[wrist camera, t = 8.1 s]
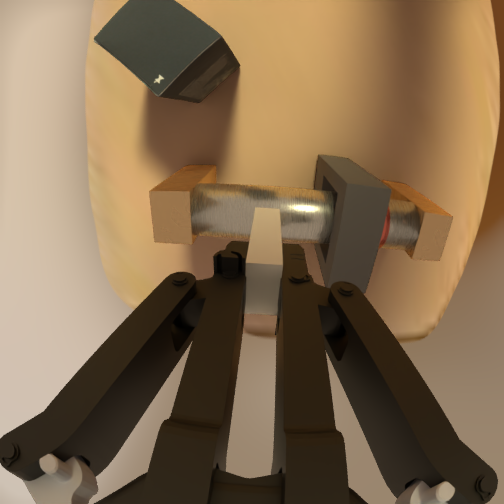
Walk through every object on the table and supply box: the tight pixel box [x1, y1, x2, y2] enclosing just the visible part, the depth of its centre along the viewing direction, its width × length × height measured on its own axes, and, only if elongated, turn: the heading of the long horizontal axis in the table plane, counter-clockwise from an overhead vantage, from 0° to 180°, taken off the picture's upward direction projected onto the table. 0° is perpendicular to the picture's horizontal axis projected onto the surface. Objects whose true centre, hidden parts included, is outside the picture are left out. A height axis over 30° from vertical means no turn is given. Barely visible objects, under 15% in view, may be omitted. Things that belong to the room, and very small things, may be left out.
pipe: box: [149, 165, 453, 261], centre depth 23 cm, size 23×4×10 cm, turn 88°
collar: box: [314, 155, 392, 293], centre depth 22 cm, size 3×8×11 cm, turn 177°
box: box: [94, 0, 240, 103], centre depth 16 cm, size 8×6×11 cm
